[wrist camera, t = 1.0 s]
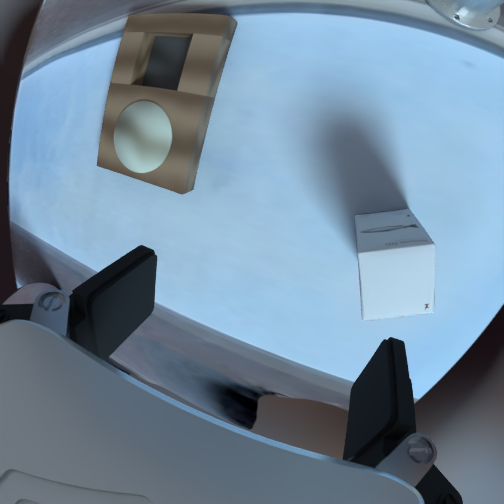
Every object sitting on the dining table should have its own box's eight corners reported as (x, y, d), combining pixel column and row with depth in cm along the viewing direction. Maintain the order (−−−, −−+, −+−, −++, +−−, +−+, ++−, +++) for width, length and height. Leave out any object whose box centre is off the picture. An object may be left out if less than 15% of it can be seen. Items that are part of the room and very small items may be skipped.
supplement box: (410, 206, 33) (438, 242, 22) (412, 262, 35) (435, 316, 24) (353, 213, 35) (356, 251, 24) (359, 267, 38) (361, 324, 26)
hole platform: (141, 19, 32) (128, 14, 29) (237, 22, 30) (228, 14, 27) (109, 162, 43) (95, 166, 40) (193, 189, 40) (181, 195, 37)
